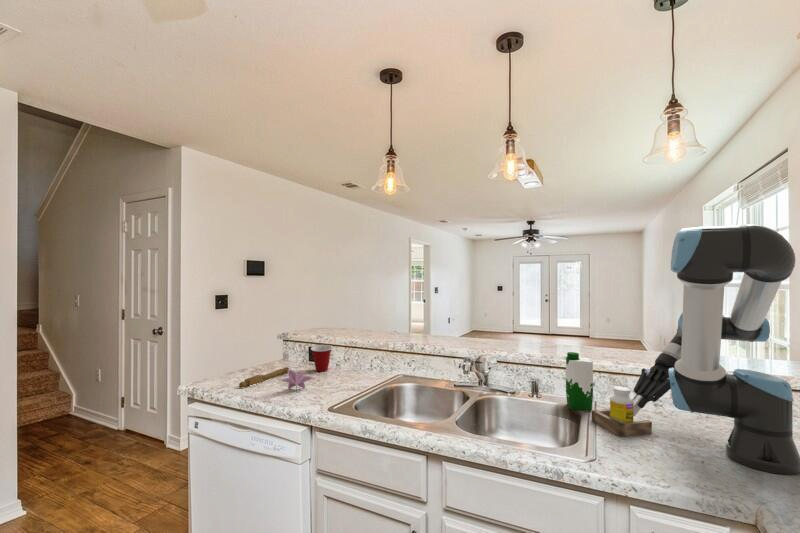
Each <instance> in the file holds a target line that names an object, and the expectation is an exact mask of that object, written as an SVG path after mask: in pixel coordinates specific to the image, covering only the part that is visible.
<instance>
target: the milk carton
mask: <svg viewBox="0 0 800 533" xmlns="http://www.w3.org/2000/svg"><path fill="white" fill-rule="evenodd" d="M593 367H594V362H593V361H592V360H591V359H590V358H588V357H581V356H580V354H579V353H578V352H573V351H572V352H571V351H570V352H567V353H566V356H565V395H566V404H567V405H568V407H569V409H570V410H572V411H585V410H593V399H594V368H593Z"/></svg>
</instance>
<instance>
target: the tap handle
mask: <svg viewBox="0 0 800 533" xmlns="http://www.w3.org/2000/svg"><path fill="white" fill-rule="evenodd" d="M288 369H290V368H289V367H288V366H286V367H283V368H279V369H277V370H274V371H271V372H268V373H266V374H261V375H260V374H257V375H254V376H251V377H248V378H245V379H244V381H240V382H239V388H240V387H244V388H245V387H246V386H250V385H253V384H256V385H257V383H258V384H261V383H263V382H264V381H266V380H268V379H271V378H275V377H279V376H283V375H284V374H288ZM260 382H261V383H260ZM253 386H254V385H253ZM250 387H251V386H250Z"/></svg>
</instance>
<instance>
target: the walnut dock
mask: <svg viewBox="0 0 800 533" xmlns="http://www.w3.org/2000/svg"><path fill="white" fill-rule="evenodd" d="M592 420H593V421H594V423H595V424H597V425H599V426H601V427H602V428H604V429H606V430H607V431H610V432H611V433H613V434H616V435H617V436H619V437H627V436H637V435H645V434H647V435H648V434H653V422H652V421H651V420H648V419H644V420H636V421H634V420H633V422H624V423H620V422H618V421H616V420H614V419H612V418H610V408H603V409H602V408H601V409H592V411H591V421H592ZM593 421H592V422H593Z"/></svg>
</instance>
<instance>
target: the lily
mask: <svg viewBox="0 0 800 533" xmlns="http://www.w3.org/2000/svg"><path fill="white" fill-rule="evenodd" d="M305 373H306V370H302V371H299V373H298V372H297V371H295V370H293V369H291V368H289V369H288V373H287V374H288V377H286V378H284V379H281V381H282V382H284V383H288V385H287V386H288V387H287V388H288V389H292V388H294V387H295V390H296V391H295V392H296V393H297V394H298V387H300V388H301V389H306V385H305V382H308V381H310V380H313V379H314V377H313V376H310V375H306V374H305Z"/></svg>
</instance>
